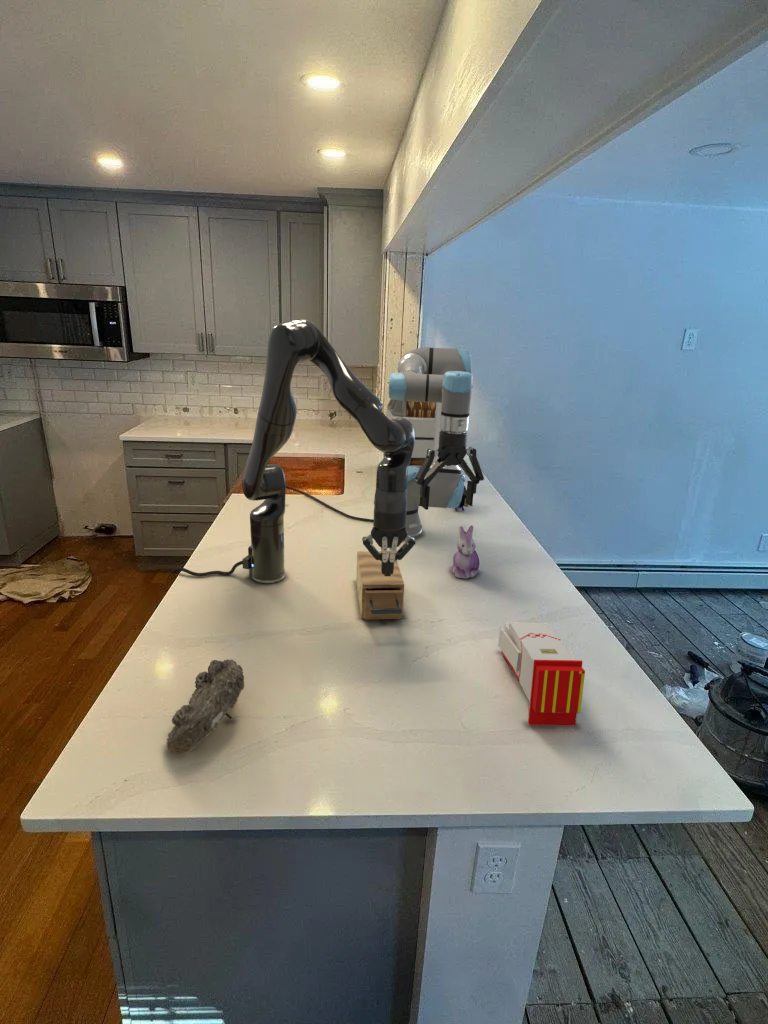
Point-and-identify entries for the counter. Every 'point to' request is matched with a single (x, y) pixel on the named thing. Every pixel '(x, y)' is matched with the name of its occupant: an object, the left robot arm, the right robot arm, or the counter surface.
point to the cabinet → (374, 577)
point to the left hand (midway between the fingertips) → (387, 574)
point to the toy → (544, 672)
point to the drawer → (383, 603)
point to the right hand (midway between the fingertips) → (447, 506)
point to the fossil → (206, 705)
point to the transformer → (416, 425)
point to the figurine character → (463, 500)
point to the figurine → (466, 555)
